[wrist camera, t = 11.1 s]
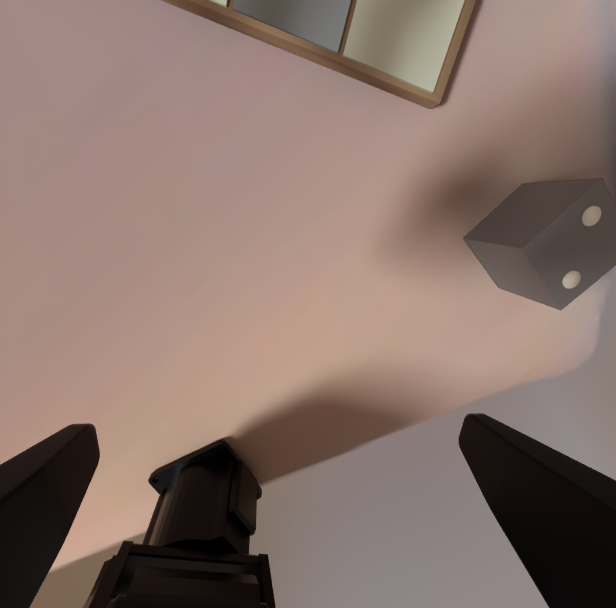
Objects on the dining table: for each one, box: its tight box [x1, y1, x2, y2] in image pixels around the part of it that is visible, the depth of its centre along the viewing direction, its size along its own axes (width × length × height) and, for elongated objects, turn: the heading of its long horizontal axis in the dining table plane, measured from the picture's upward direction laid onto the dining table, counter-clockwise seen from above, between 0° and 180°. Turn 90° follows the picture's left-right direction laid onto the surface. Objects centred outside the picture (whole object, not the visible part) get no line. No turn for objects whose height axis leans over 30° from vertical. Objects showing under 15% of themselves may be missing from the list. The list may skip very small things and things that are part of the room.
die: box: [463, 178, 616, 310], centre depth 18 cm, size 5×5×5 cm
